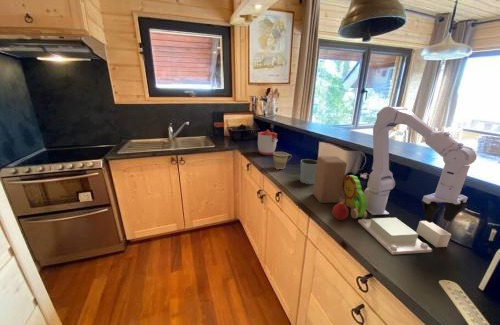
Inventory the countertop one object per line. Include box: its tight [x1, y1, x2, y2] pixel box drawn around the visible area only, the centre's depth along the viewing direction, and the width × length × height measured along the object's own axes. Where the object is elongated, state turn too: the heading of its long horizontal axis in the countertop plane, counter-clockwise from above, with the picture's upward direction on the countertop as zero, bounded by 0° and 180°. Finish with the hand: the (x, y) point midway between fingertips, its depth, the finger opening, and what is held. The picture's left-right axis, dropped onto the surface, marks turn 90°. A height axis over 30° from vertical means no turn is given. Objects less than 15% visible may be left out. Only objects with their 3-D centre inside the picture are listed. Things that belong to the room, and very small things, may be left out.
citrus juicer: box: [257, 129, 278, 156], centre depth 172 cm, size 16×17×20 cm
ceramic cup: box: [272, 151, 293, 170], centre depth 141 cm, size 13×10×10 cm
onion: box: [332, 202, 349, 221], centre depth 84 cm, size 6×6×8 cm
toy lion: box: [338, 174, 368, 219], centre depth 90 cm, size 16×5×15 cm, turn 5°
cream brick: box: [415, 220, 452, 248], centre depth 74 cm, size 8×4×5 cm, turn 6°
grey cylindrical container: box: [299, 158, 317, 185], centre depth 120 cm, size 10×10×12 cm
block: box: [312, 155, 347, 204], centre depth 99 cm, size 10×10×20 cm
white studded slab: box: [357, 217, 433, 255], centre depth 76 cm, size 18×14×4 cm
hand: (437, 220), depth 73 cm, fingers open, 7 cm apart
